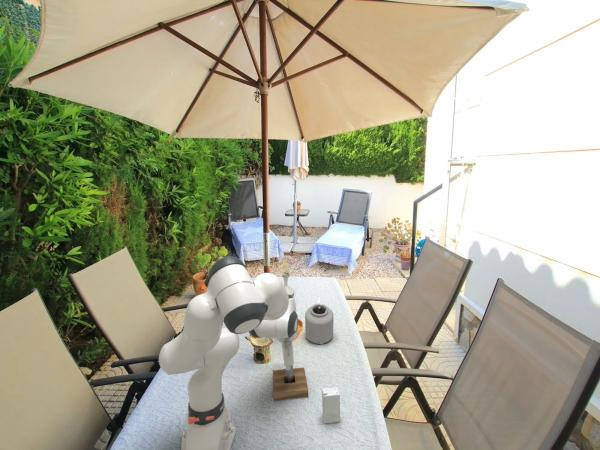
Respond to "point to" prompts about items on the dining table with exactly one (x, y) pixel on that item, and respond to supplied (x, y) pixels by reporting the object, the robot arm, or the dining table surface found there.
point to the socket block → (289, 385)
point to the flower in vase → (286, 277)
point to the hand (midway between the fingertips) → (287, 361)
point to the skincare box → (331, 405)
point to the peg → (289, 375)
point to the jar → (319, 323)
